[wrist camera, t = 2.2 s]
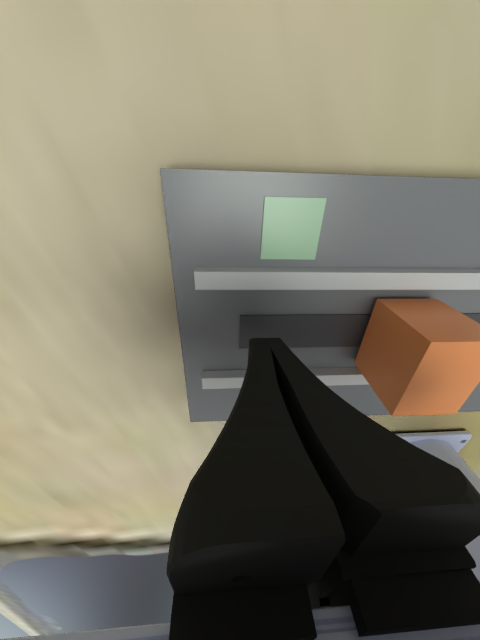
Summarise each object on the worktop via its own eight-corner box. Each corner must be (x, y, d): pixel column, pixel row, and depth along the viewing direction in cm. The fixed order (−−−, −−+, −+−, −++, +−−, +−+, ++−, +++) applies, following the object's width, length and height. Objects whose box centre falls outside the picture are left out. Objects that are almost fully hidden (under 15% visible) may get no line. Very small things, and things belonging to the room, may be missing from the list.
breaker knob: (405, 361, 14) (455, 413, 11) (354, 363, 14) (391, 416, 11) (436, 298, 12) (509, 341, 9) (376, 298, 12) (431, 342, 9)
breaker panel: (477, 389, 19) (511, 417, 17) (193, 397, 17) (189, 430, 15) (629, 184, 12) (724, 186, 10) (170, 169, 10) (155, 168, 8)
